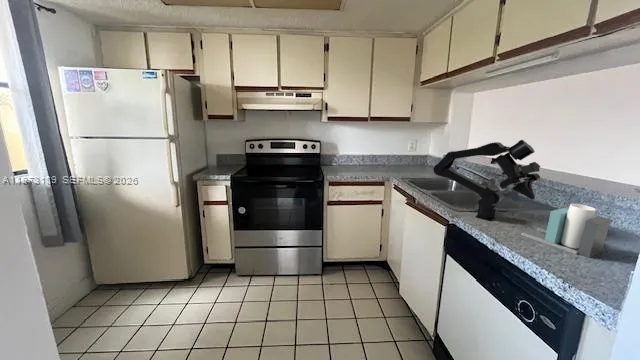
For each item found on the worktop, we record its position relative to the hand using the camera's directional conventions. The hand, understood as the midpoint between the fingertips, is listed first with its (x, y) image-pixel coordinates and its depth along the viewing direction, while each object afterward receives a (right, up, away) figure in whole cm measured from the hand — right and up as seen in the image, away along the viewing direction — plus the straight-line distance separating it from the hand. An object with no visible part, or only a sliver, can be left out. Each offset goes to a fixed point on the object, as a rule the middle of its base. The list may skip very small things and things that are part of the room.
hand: (533, 198), depth 107 cm
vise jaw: (+3, -16, -6) cm, 17 cm away
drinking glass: (+5, -16, -10) cm, 20 cm away
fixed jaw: (+4, -16, -7) cm, 18 cm away
